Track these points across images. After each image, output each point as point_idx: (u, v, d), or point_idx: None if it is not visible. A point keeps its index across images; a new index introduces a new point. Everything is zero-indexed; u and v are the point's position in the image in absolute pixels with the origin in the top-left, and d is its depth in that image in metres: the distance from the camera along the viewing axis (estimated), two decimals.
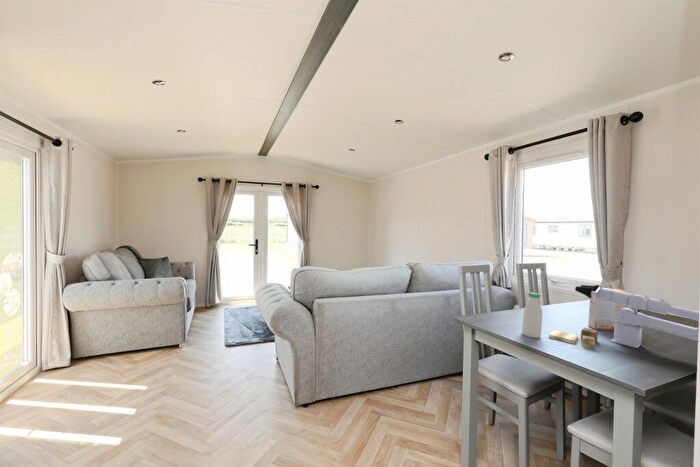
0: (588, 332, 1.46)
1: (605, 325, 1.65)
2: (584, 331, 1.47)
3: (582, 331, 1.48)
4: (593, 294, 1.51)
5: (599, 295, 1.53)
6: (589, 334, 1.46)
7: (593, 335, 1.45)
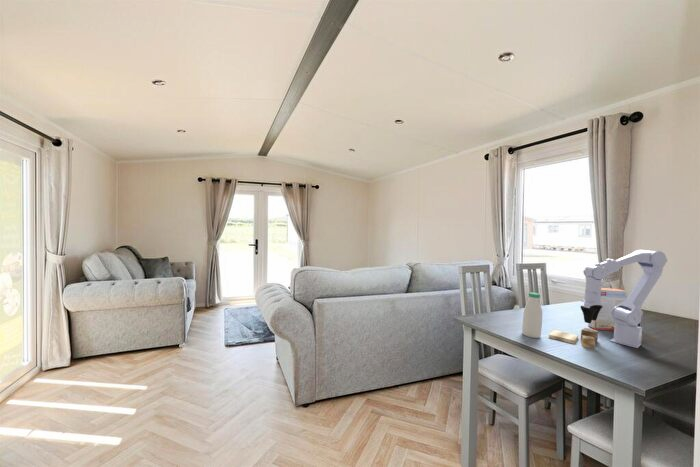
0: (588, 332, 1.46)
1: (605, 325, 1.65)
2: (584, 331, 1.47)
3: (582, 331, 1.48)
4: (587, 305, 1.43)
5: (592, 301, 1.45)
6: (589, 334, 1.46)
7: (593, 335, 1.45)
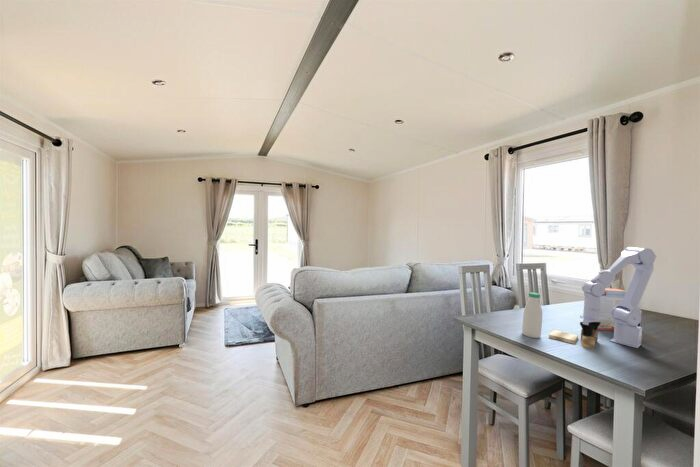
0: None
1: (605, 325, 1.65)
2: None
3: (582, 331, 1.48)
4: (586, 322, 1.43)
5: (591, 318, 1.45)
6: None
7: (593, 335, 1.45)
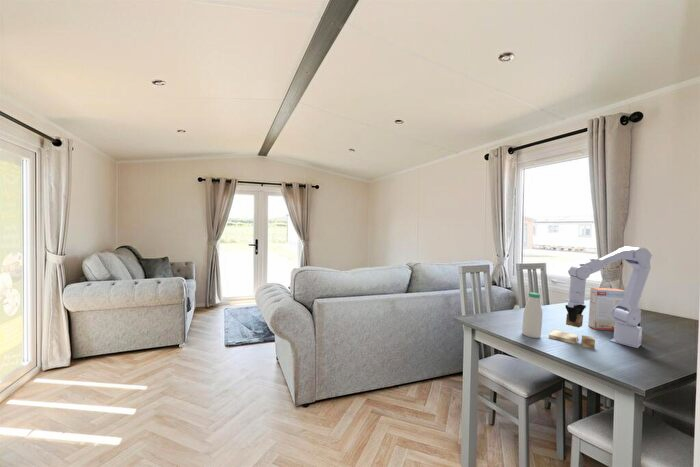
0: None
1: (605, 325, 1.65)
2: None
3: (567, 315, 1.49)
4: (571, 305, 1.44)
5: (576, 301, 1.46)
6: None
7: (578, 319, 1.46)
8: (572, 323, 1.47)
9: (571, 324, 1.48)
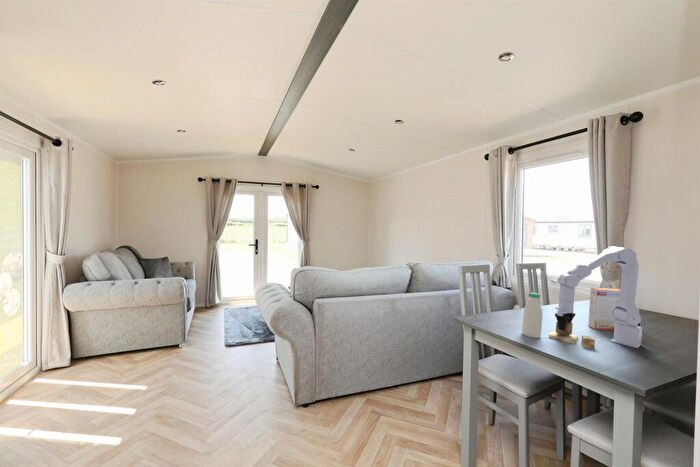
0: None
1: (605, 325, 1.65)
2: None
3: (557, 323, 1.50)
4: (560, 313, 1.45)
5: (565, 309, 1.47)
6: None
7: (567, 327, 1.47)
8: (562, 331, 1.48)
9: (561, 332, 1.49)
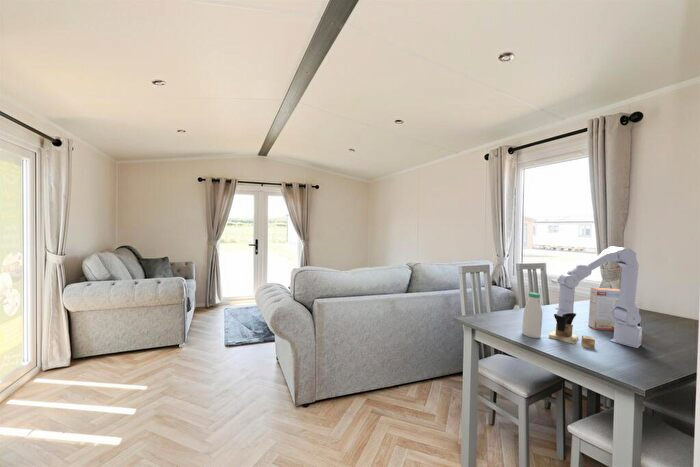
0: None
1: (605, 325, 1.65)
2: None
3: None
4: (560, 314, 1.45)
5: (565, 310, 1.47)
6: None
7: (567, 329, 1.47)
8: (561, 333, 1.48)
9: (560, 334, 1.49)
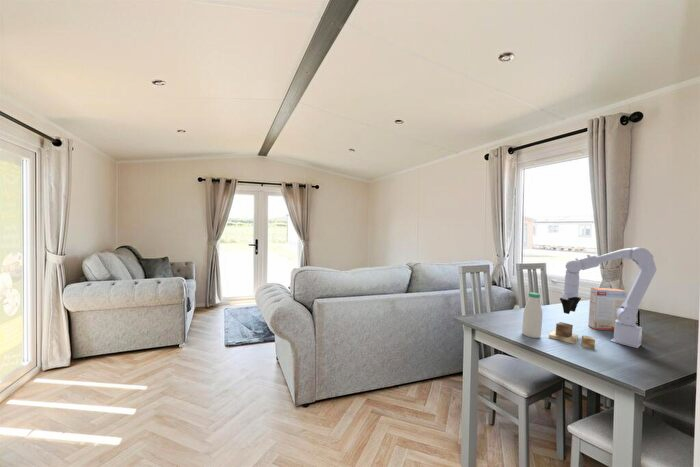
0: (562, 326, 1.48)
1: (605, 325, 1.65)
2: (559, 325, 1.49)
3: (557, 325, 1.50)
4: (566, 297, 1.53)
5: (571, 294, 1.56)
6: (564, 328, 1.48)
7: (567, 329, 1.47)
8: (561, 333, 1.48)
9: (560, 334, 1.49)
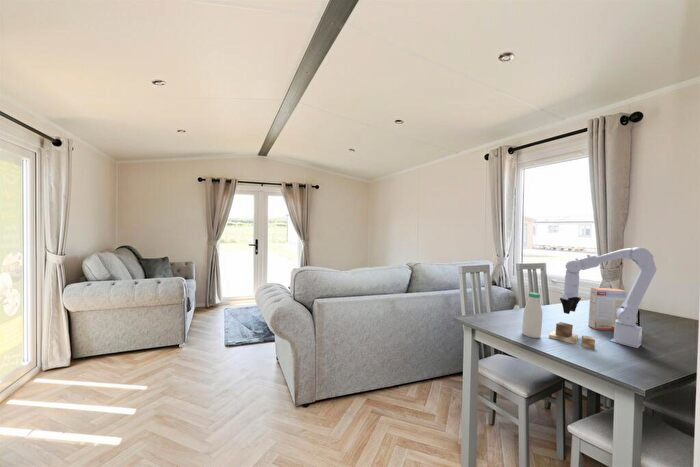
0: (562, 326, 1.48)
1: (605, 325, 1.65)
2: (559, 325, 1.49)
3: (557, 325, 1.50)
4: (566, 297, 1.53)
5: (571, 294, 1.56)
6: (564, 328, 1.48)
7: (567, 329, 1.47)
8: (561, 333, 1.48)
9: (560, 334, 1.49)
